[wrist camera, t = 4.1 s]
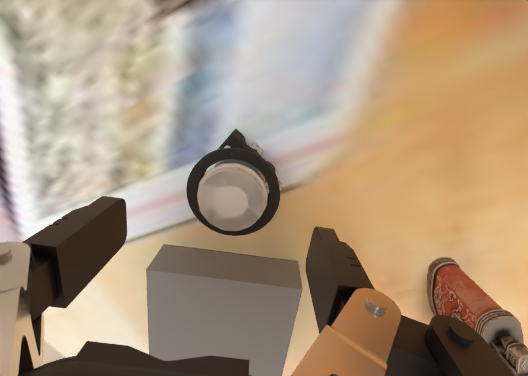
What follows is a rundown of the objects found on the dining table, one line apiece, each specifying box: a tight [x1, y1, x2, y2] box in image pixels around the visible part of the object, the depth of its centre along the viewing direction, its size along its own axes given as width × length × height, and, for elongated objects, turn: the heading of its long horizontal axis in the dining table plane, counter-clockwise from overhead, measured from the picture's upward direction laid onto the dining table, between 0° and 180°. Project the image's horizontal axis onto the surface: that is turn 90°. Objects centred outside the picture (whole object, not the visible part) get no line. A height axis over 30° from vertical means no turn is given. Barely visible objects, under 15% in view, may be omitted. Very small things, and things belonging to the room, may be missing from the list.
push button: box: [187, 129, 282, 236], centre depth 19 cm, size 7×5×10 cm
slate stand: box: [146, 245, 302, 376], centre depth 27 cm, size 14×14×4 cm
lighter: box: [427, 257, 528, 376], centre depth 23 cm, size 8×3×10 cm, turn 16°
